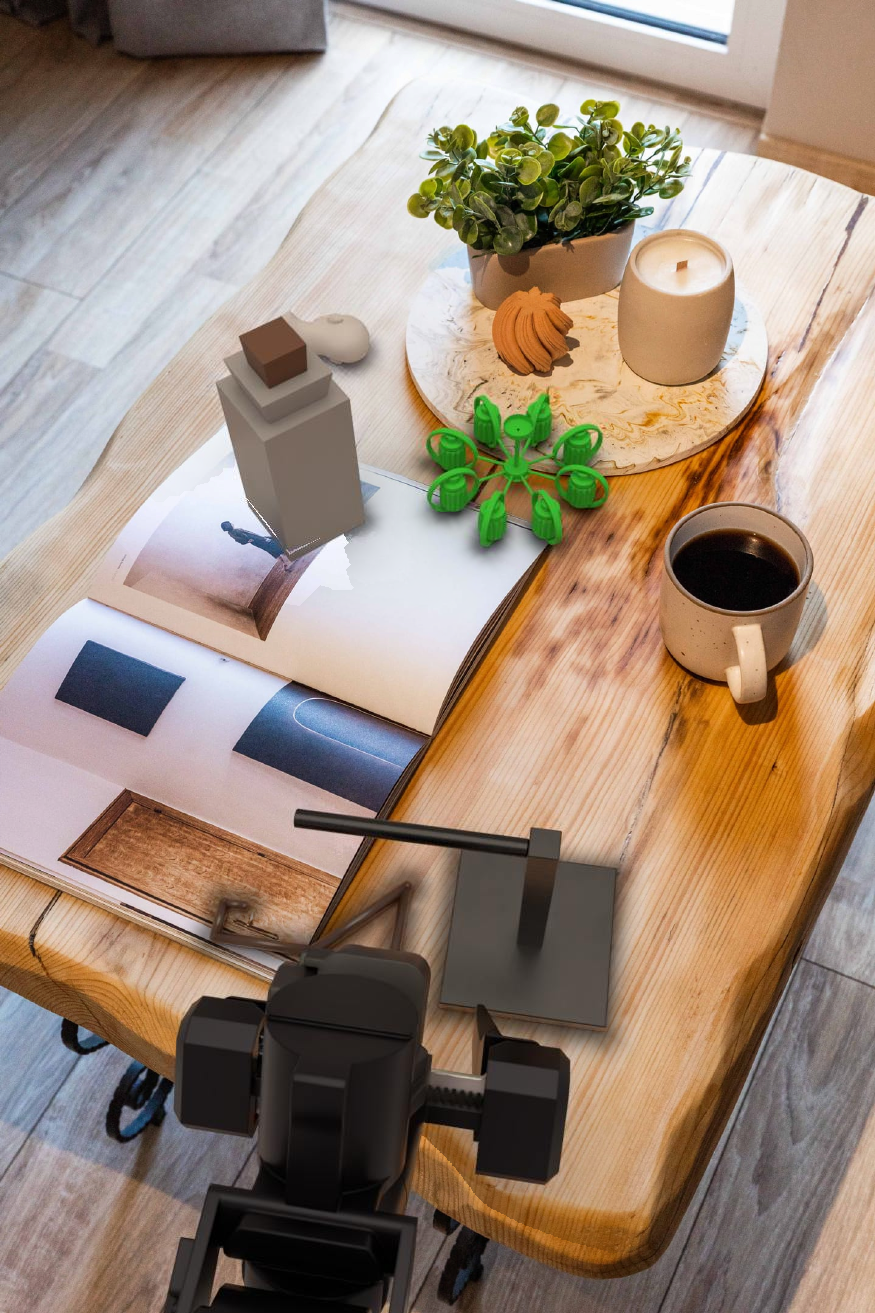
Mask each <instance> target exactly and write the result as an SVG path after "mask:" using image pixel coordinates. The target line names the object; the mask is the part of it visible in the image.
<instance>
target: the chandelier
mask: <svg viewBox="0 0 875 1313" xmlns="http://www.w3.org/2000/svg"><path fill="white" fill-rule="evenodd" d="M481 402H482V403H481ZM550 404H551V397H550V395H549V394H548V393H543V392H542V393H540V394H539V396H538V398H537V399H536V401H534V402H531V403H530V404H529V405H528V407H527V410H526V412H525V414H523V413H514V414H511V415H509V416H507V417H506V418H505V419H504V421H503V425H502V416H501V413H500V408H499V407H498V406H497V405H496V404H494V403H492V402H491V400H490V398H488V397H487V396H486V395H485V394H481V395H478V396H475V398H474V401H473V412H474V416H473V433H474V437H475V438H476V439H477V440H478V441H479V442H481V443H485V444H486V445H487V446H488V447H489V448H490V449H494V448H497V447H501V449H502V450H503V453H504V454H505V456H506V457H507V459H506V460H505V461H504V462H503V461H502V462H501V461H498V460H494V459H491V458H488V457H484V456H481V455H479V451H478V448H477V446H476V444H475V443H474V442H473V440H472V439H471V438H470V437H468V436H467V435H466V434H464V433H463V432H461V431H459V430H456V429H454V428H449V427H440V428H436V429H434V430H433V431H431V432H430V434H429V435H428V436H427V439H426V442H425V447H426V450H427V453H428V454H429V456H430V457H431V459H433V460H434V461H435V462H436V463H437V464H438V465H440V466H441V468H442V469H444V471H446V472H444V473H442V474H441V475H439V476H438V477H437V478H436V479H434V481H433V482H431V484H430V485H429V488H428V490H427V493H426V500H427V503H428V504H429V506H430V507H431V509H433V510H434V511H436V512H439V513H447V512H451V513H453V512H454V513H456V512H459V511H461V510H463V509H464V508H465V507H466V506H467V504H468V503H469V502H470V501H472V499H473V498H474V497H475V496H476V494H477V493H478V491H479V489H480V483H482V482H485V481H488V480H491V479H494V478H496V477H497V478H498V477H500V476H503V477H504V478H505V479H506V480H508V481H507V483H506V485H505V487H504V489H503V491H499V490H495V491H494V492H493V493H492V495H491V497H490V499H487V500H485V501H483V502H482V504H481V505H480V508H479V510H478V515H477V517H478V518H477V531H478V532H479V544H480V545H481V546H484V547H486V548H487V547H490V546H491V545H492V543H493V541H497V540H500V539H501V538H503V536H504V535H505V534H506V532H507V531H506V530H507V521H508V512H507V510H506V507H505V503H506V495H507V492H508V490H509V488H510V486H511V484H512V482H516V483H518V482H522V484H524V486H525V488H526V490H527V491H528V492H529V495H530V496H531V509H532V513H531V514H532V515H531V529H532V533H533V534H534V535H535V537H537V538H539V539H542V540H545V541H546V542H547V544H548V545H550V546H554V545H556V544H559V543H561V541H562V539H563V526H562V522H561V521H562V510H561V506H560V503H559V502H558V501H557V500H556V499H554V498H552V496H550V494H549V493H548V492H547V491H546V490H545V489H538V490H536V491H533V489H532V488H531V487H530V485H529V483H528V481H527V480H526V479H527V478H529V476H530V475H534V476H537V477H540V478H544V479H548V480H551V481H554V487H555V490H556V492H557V493H558V494H559V496H560V497H561V498H562V499H564V500H565V501H566V502H568V504H569V505H571V506H572V507H573V508H576V509H590V508H591V509H593V508H597V507H600V506H602V505H603V504H605V502H606V501H607V500H608V496H609V494H610V484H609V483H608V480H607V479H606V478H605V477H604V475H602V474H601V473H600V472H599V471H597V470H596V469H594V468H592V467H590V466H586V465H587V464H588V463H589V461H590V460H591V459H592V458H593V457H594V456H595V455H596V454H597V453H598V451H599V450H600V448H601V447H602V444H603V441H604V435H603V433H602V431H601V430H600V428H599V427H598V426H597V425H595V424H592V423H584V424H579V425H577V426H574V427H572V428H570V429H569V430H568V431H566V432H564V433H563V434H562V435H561V436H560V437H559V438H558V440H556V442H555V444H554V446H553V448H552V451H551V453H550V454H547V455H544V456H541V457H539V458H536V459H533V460H530V461H527V460H526V459H525V458H524V456H525V454H526V451H527V449H528V447H532V448H533V447H534V448H535V447H536V446H537V445H538V443H539V442H543V441H545V440H547V439H548V438H549V436H551V433H552V425H553V424H552V422H553V413H552V410H551V406H550ZM502 426H503V428H502ZM502 429H503V434H504V435H505V436H506V437H507V438H508V439H509V440H512V441H514V455H513V456H512V455H511V454H510V453H509V451H508V450H507V448H506V447H505V445H504V443H503V442H502ZM589 431H595V432H596V433H597V439H596V442H595V444H594V445H592V438H591V437H592V436H591V433H590V432H589ZM438 435H441V436H440V438H439V442H438V446H437V447H438V453H437V452H436V451H435V450H434V448H433V446H432V443H431V440H432V438H434V437H435V436H438ZM525 440H526V442H525V444H524V446H523V449H522V451H521V452H520V449H521V448H520V447H521V442H522V441H525ZM466 445H467V446H468V448H469V449H470V450H471V452H472V455H473V461H472V462H470V463H467V464H466V462H467V446H466ZM592 446H593V447H592ZM561 447H563V448H562V459H563V462H562V461H559V460H558V453H559V451H560V449H561ZM551 458H552V459H553V461H554V463H555V464H556V465H557V467H559V468H560V469H559V470H558V471H557V474H556V476H552V475H548V474H544V473H541V472H538V471H533V470H531V467H530V466H531V465H533V464H536V463H539V462H542V461H545V460H548V459H551ZM478 460H480V461H484V462H487V463H491V464H495V465H498V466H501V471H498V472H496V473H493V474H491V475H487V476H485V477H482V478H479V476H478V475H477V473H476V472H475V471H474V470H473V469H472V468H474V466H475V465H476V463H477V461H478ZM567 472H571V474H570V476H569V478H568V480H567V486H566V491H565V490H564V489H563V487H562V485H561V483H560V477H561V476H562V475H563V474H564V473H567ZM465 475H469V476H472V477H474V483H473V486H472V488H471V490H469V492H468V483H467V481H466V477H465ZM596 480H597V481H598V482H599V483H600V484H601V486H602V487H603V490H604V496H603V497H602V498H601V499H598V500H596V501H594V500H595V498H596V497H595V496H596V491H597V481H596ZM438 487H439V488H438ZM437 488H438V489H439V490H438V491H439V503H440V505H438V504H435V503H434V502H432V498H433V494H434V492H435V491H436V490H437ZM539 497H540V498H539Z"/></svg>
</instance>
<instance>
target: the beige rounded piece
mask: <svg viewBox="0 0 875 1313" xmlns="http://www.w3.org/2000/svg"><path fill="white" fill-rule="evenodd" d="M281 316H282V317H283V319H284V320H285V321H286V322H287V323H288V324H289V325H290V326H291V327H293V328H294V330H295V331H296V332H297V333H298V334H299V335H300V336H301V337H302V339H303V340H304V341H305V342H306V343H307V344H308V345H309V346H310V348H311V349H312V350H313V351H314V352H315V353H316V354H317V355H318V356H324V357H327V358H328V360H329V361H330V362H331V363H333V364H335V365H341V364H342V363H347V364H349V363H355V362H358V361H360V360H361V359H363V358H364V357H366V355H367V353H368V351H369V348H370V344H371V336H370V333H369V330H368V328H367V326H366V325H365V323H364V322H363V321H362V320H361V319H359V318H358V317H356V316H354V315H350V314H341V313H331V314H325V315H322V316H319V317H317V318H315V319H313V320H312V321H306V320H302V319H301V318H298V317H297V316H296V315H295V314H294V313H293V312H292V311H287V312H286V313H284V314H282V315H281Z"/></svg>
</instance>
